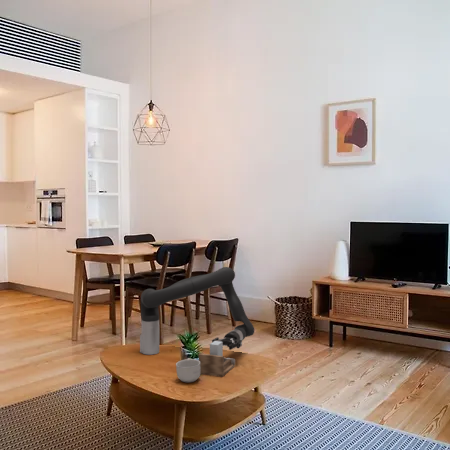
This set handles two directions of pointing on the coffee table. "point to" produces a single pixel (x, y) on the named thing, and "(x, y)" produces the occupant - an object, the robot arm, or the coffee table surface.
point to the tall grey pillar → (216, 348)
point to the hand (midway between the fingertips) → (221, 346)
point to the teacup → (188, 370)
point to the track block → (215, 364)
